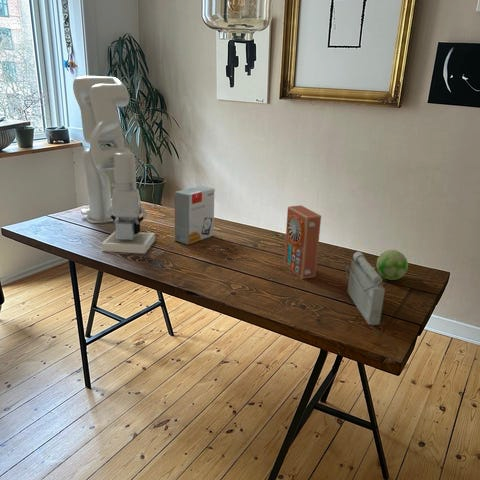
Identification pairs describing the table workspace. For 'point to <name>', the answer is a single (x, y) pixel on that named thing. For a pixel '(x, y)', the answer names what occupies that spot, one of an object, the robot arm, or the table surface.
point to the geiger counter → (365, 288)
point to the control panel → (302, 241)
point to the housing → (125, 228)
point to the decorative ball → (392, 265)
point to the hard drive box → (194, 214)
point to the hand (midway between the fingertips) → (128, 232)
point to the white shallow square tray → (129, 243)
